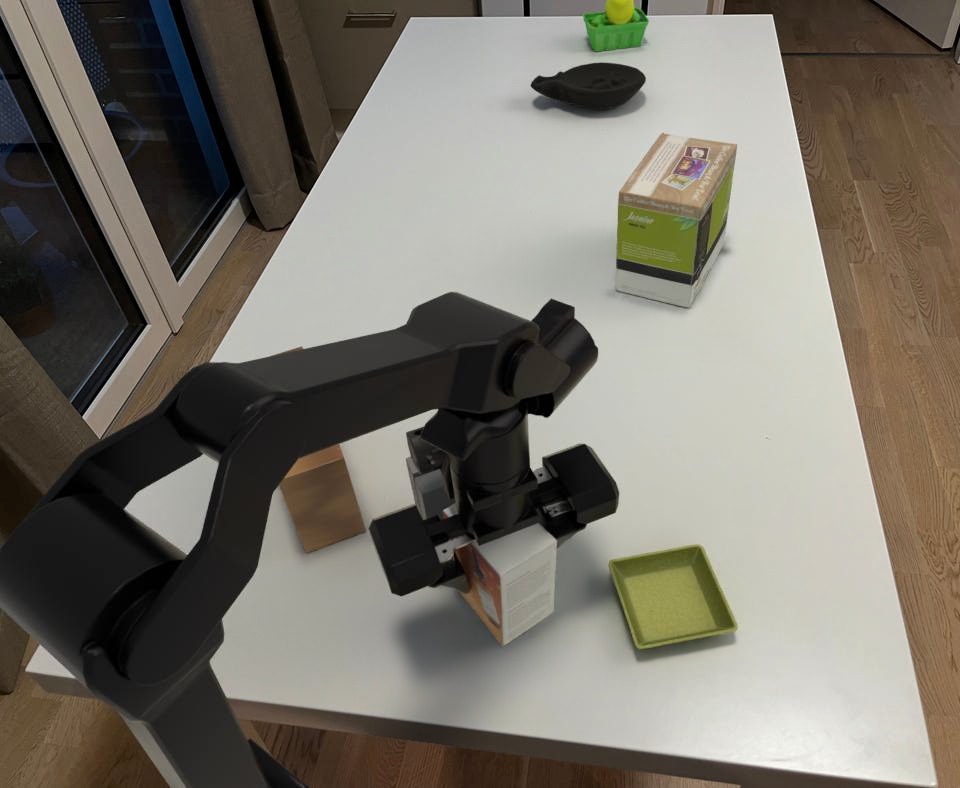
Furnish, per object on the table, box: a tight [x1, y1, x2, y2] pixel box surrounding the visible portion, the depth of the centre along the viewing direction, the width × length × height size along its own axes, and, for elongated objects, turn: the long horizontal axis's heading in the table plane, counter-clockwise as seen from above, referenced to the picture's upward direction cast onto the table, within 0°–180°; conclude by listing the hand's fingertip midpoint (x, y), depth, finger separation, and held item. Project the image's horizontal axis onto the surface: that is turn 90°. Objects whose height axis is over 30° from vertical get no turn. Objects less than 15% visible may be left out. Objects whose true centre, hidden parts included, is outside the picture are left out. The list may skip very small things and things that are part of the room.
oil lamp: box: [530, 61, 647, 110], centre depth 137 cm, size 15×20×5 cm
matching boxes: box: [271, 346, 367, 554], centre depth 78 cm, size 6×16×11 cm, turn 22°
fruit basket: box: [582, 0, 650, 52], centre depth 151 cm, size 11×9×11 cm
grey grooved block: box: [405, 456, 456, 520], centre depth 73 cm, size 8×4×10 cm, turn 112°
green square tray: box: [607, 543, 739, 650], centre depth 68 cm, size 9×9×2 cm
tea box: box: [614, 132, 738, 308], centre depth 98 cm, size 15×10×15 cm, turn 152°
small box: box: [443, 503, 558, 647], centre depth 65 cm, size 8×6×10 cm
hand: (501, 574), depth 67 cm, fingers closed on small box, 6 cm apart
